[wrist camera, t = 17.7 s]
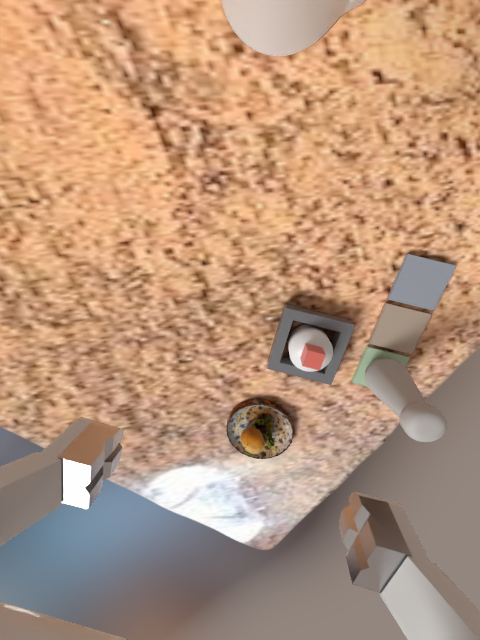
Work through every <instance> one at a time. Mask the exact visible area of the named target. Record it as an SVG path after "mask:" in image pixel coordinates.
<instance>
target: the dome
mask: <svg viewBox="0 0 480 640" xmlns="http://www.w3.org/2000/svg"><path fill="white" fill-rule="evenodd" d="M288 349H289V355H290V359H291V361H292V363H293V364H294V365H295V366H296V367H297V368H299V369H301V370H303V371H308V372H313V371H318V370H319V371H320V370H321V369H323V368H324V367H326V366H327V365H328V364H329V362H330V361H331V359H332V356H333V347H332V344H331V342H330V341H329V339H328V337H327V335H326V334H325V332H324V331H323V330H322V329H321V328H320V327H318V326H314V325H310V324H305V325H301V326H299V327H297V328H295V329H294V330H293V331H292V332H291V334H290V335H289V338H288Z"/></svg>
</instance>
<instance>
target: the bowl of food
mask: <svg viewBox="0 0 480 640" xmlns="http://www.w3.org/2000/svg"><path fill="white" fill-rule="evenodd" d="M292 424H293V423H292V421H291V419H290V418H289V417H288V415H287V414H286V411H285V408H284V409H282V407H281V405H278V404H274V405H272V404H270V402H269V401H267V400H266V399H261V398H260V399H257V398H256V399H254V400H249V401H248V402H241V403H240V404H238V405H237V406H236V407H235V409H233V410H232V411H231V412H230V414H229V417H228V421H227V436H228V438H229V441H230V443H231V444H232V445H233V446H234V447H235V448H236V449H237V450H238V451H239V452H241V453H242V454H245V455H247V456H249V457H253V458H256V459H259V458H261V459H266V458H272V457H275V456H278V455H280V454H281V453H283V452H284V451H285V450H286V449H287V448H288V447H289V446H290V444H291V443H292V436H293V427H292Z"/></svg>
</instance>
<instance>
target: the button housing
mask: <svg viewBox="0 0 480 640" xmlns="http://www.w3.org/2000/svg"><path fill="white" fill-rule="evenodd" d="M293 320H294V321H298V322H302V323H306V324H310V325H314V326H318V327H322V328H326V329H330V330H334V331H335V332H334V335H333V337H332V340H331V344H332V347H333V356H332V359H331V361H330V362H329V364H328V365H327V366H326V367H324V368H323V369H321V370H320V371H319V370H318V371H313V372H308V371H303V370H301V369H299V368H297V367H296V366H295V365H294V364H293V363H292V361H291V359H290V358H288V357H284V356H282V353H283V350H284V347H285V344H286V341H287V338H288V334H289V331H290V328H291V325H292V322H293ZM354 327H355V324H354V323H353V322H352V321H351V320H349V319H345V318H341V317H337V316H333V315H329V314H325V313H321V312H317V311H313V310H309V309H305V308H301V307H297V306H293V305H289V304H284V307H283V311H282V314H281V318H280V321H279V324H278V328H277V331H276V334H275V338H274V341H273V344H272V348H271V351H270V355H269V358H268V366H267V369H271V370H275V371H279V372H283V373H287V374H291V375H295V376H298V377H302V378H306V379H310V380H314V381H318V382H322V383H326V384H329V385H331V384H332V382H333V379H334V377H335V374H336V372H337V369H338V367H339V364H340V362H341V359H342V357H343V354H344V352H345V349H346V347H347V345H348V342H349V340H350V337H351V335H352V332H353V330H354Z"/></svg>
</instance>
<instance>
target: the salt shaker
mask: <svg viewBox="0 0 480 640" xmlns="http://www.w3.org/2000/svg"><path fill="white" fill-rule="evenodd" d="M365 381H366V385H367V386H368V388H369V389H370V390H371V391H372V392H373V393H374V394H375V395H376V396H377V397H378V398H379V399H380V400H381V401H382V402H384V403H385V404H386V405H387V406H388V407H389V408H390V409H391V410H392V411H393V412H394V413H396V414H397V415H398V416H399V417H400V424H401V426H402V428H403V429H404V430H405V432H406V433H407V434H408V435H409V436H410V437H411V438H413V439H415V440H417V441H422V442H430V441H434V440H437V439H439V438H440V437H441V436H443V434H444V433H445V431H446V429H447V420H446V419H445V417H444V416H443V414H442V413H441V411H440V410H439V409H438V408H437V407H435V406H433V405H431V404H429V403H427V402H426V401H425V400H424V398H423V396H422V394H421V393H420V391H419V389H418V388H417V386H416V384H415V383H414V381H413V379H412V377H411V376H410V374H409V372H408V371H407V369H406V368H405V367H404V365H403V364H401V363H399V362H397V361H395V360H394V359H388V358H382V359H375V360H372V361H371V363H370V364H369V365H368V367H367V368H366V370H365Z"/></svg>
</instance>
